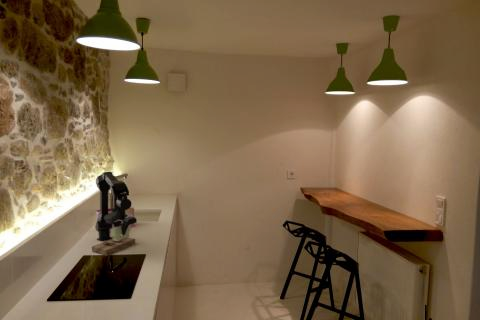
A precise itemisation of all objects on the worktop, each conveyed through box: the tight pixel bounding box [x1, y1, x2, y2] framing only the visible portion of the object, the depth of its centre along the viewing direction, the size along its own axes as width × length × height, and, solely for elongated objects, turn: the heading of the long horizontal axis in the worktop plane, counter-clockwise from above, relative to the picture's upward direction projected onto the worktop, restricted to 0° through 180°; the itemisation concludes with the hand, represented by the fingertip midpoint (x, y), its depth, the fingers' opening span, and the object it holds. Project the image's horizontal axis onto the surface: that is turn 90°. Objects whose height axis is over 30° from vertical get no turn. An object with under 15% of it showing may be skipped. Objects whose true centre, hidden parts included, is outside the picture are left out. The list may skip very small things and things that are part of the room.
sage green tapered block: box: [110, 225, 131, 241], centre depth 183 cm, size 4×10×6 cm, turn 150°
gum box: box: [95, 205, 136, 232], centre depth 229 cm, size 24×8×14 cm, turn 124°
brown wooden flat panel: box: [91, 235, 136, 257], centre depth 195 cm, size 12×20×3 cm, turn 150°
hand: (121, 234), depth 183 cm, fingers closed on sage green tapered block, 3 cm apart
